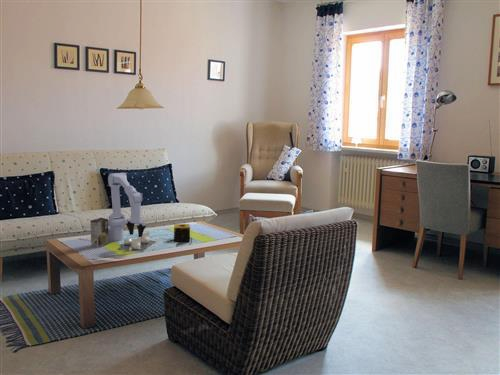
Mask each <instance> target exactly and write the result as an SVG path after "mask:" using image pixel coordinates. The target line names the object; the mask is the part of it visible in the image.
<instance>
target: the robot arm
mask: <svg viewBox="0 0 500 375" xmlns="http://www.w3.org/2000/svg"><path fill="white" fill-rule="evenodd" d="M127 179H128V178H127V174H126V172H117V173H116V172H115V173H113V172H112V173H109V174H108V177H107V182H108V186H109V187H110V192H111V203H112V204H111V205H112V208H111V209H112V213H110V215H108V232H109V244H110V243H113V242H119V241H123V240H124V228H125V227H127V229H128V234H129V235H130V236H132V235H134V230H135V229H134V228H135V225H136V229H137V232H138V233H137V234H138V238H140V237H142V235H143V233H144V231H145V229H146V227H147V224H146V221H144V220H142V219H141V218H142V217H141V216H142V214H141V213H142V211H141V210H142V208H141V206H142V205H141V204H142V202H143V200H144V197H143V194H142V192H138V191H137V190H136V189H135V188H134V186H133V185H131V184H130V183H129V182H128V180H127ZM121 186H122V187H123V189H124V193H125V194H126V195H127V197H128V202H129V206H130V218H126V215H125V214H124V213H123V212H122V209H121V208H122V206H121V195H120V194H121V192H120V188H121Z"/></svg>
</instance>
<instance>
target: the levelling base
mask: <svg viewBox="0 0 500 375" xmlns="http://www.w3.org/2000/svg"><path fill="white" fill-rule="evenodd" d="M131 239H132V238H125V239H123V240H124V241H123V243H124V244H123V245H121V246H120V247H118V248H117V249H116V250H118V251H127V252H128V251H129V252H141V253H142V252H145V250H147V249H148V248H149V247H151V246H152V245H154V244H155V243H156V242H157V240H150V239H149V242H148V243H140V249H132V244H131Z"/></svg>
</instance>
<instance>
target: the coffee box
mask: <svg viewBox="0 0 500 375" xmlns="http://www.w3.org/2000/svg"><path fill="white" fill-rule="evenodd" d="M108 221H109V218H105V217H99V218H95V219H92V220H90V246H91V247H95V248H101V247H105V246H106V245H109V244H110V243H109V232H108V228H109V225H108Z"/></svg>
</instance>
